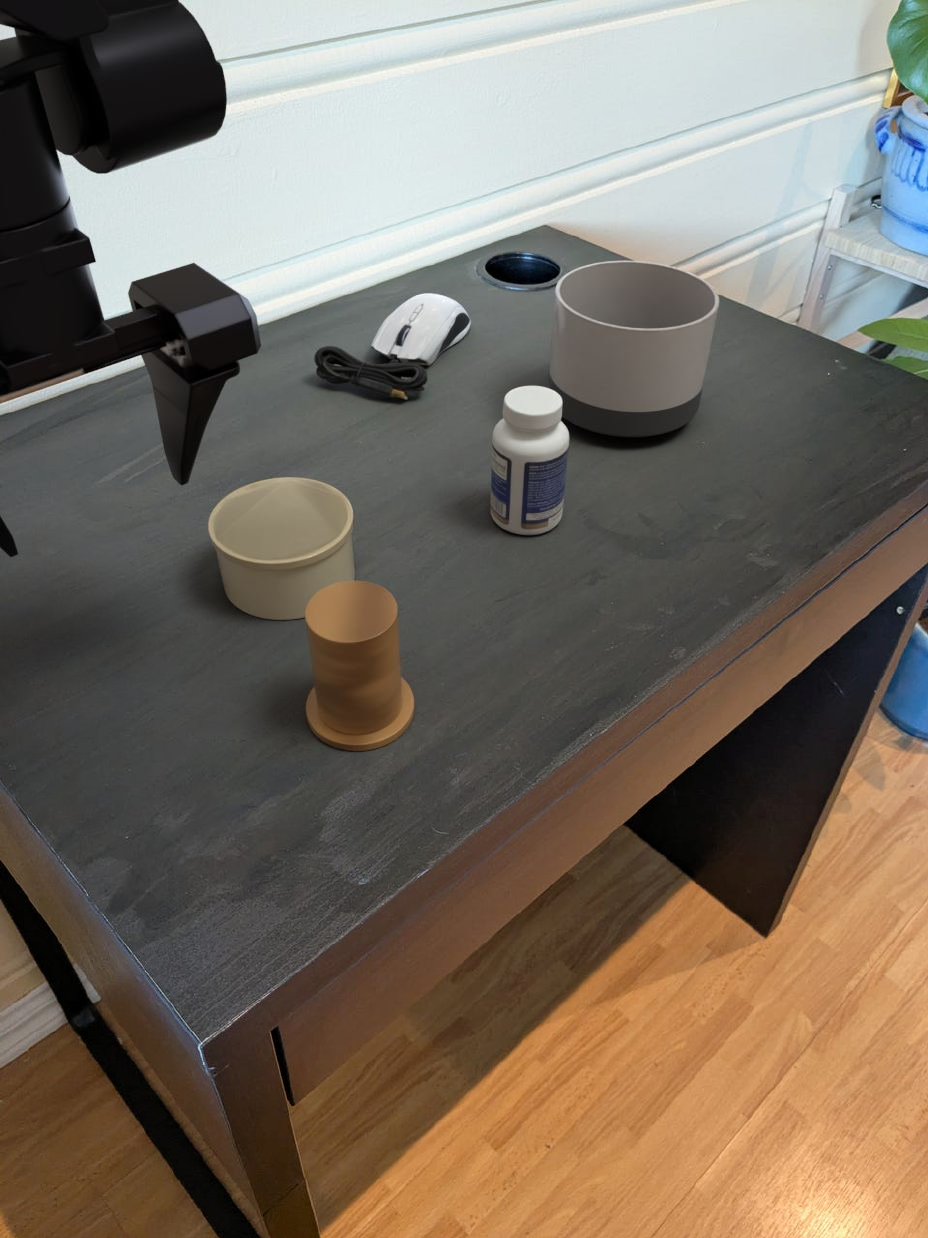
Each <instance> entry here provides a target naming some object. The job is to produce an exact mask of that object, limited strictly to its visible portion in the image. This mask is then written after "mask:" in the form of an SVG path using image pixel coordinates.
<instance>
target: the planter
mask: <svg viewBox="0 0 928 1238" xmlns="http://www.w3.org/2000/svg"><path fill="white" fill-rule="evenodd" d="M555 285H556V286H555V290H554V302H553V303H554V304H553V315H552V316H553V317H552V328H551V329H552V330H551V342H550V353H549V354H550V355H549V366H548V367H549V370H548V380H547V388H549V389H551V390H554V391H555V392H557V393H558V394H559V395H560V396H561V398H562V402H563V404H562V418H563V419H565V420H566V421H568V422H570V423H571V424H573V425H575V426H577V427H580V428H582V429H584V430H587V431H590V432H593V433H597V434H601V435H606V436H612V437H618V438H619V437H621V438H645V437H653V436H660V435H664V434H667V433H670V432H673V431H676V430H677V429H679V428H682V427H684V426H685V425H686V424H688V423H690V422H691V420H693V419H694V417H695V416H696V414H697V413H698V411H699V407H700V403H701V399H702V393H703V387H704V384H705V378H706V372H707V367H708V363H709V357H710V353H711V348H712V343H713V337H714V332H715V327H716V322H717V316H718V313H719V307H720V296H719V293H718V292H717V291H716V289H715V288H714V286H712V285H711V284H710V283H709V282H708V281H707V280H705V279H703V278H702V277H700V276H698V275H696V274H694V273H692V272H690V271H687V270H684V269H681V268H678V267H675V266H672V265H668V264H664V263H657V262H649V261H640V260H611V261H610V260H609V261H601V262H595V263H590V264H586V265H582V266H580V267H577V268H575V269H572V270H571V271H569V272H567V273H566V274H564V275H562V277H561V278H560V279H559V280H558V281H557V283H556V284H555Z"/></svg>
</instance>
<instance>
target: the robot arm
mask: <svg viewBox="0 0 928 1238" xmlns="http://www.w3.org/2000/svg"><path fill="white" fill-rule="evenodd" d="M0 25H1V26H4V27H9V28H13V29H14V34H15V36H12V37H7V38H3V39H0V405H2V404H3V403H6V402H10V401H12V400H15V399H18V398H21V397H25V396H26V395H30V394H33V393H36V392H39V391H41V390H44V389H48V388H50V387H53V386H56V385H58V384H61V383H65V382H68V381H71V380H73V379H77V378H80V377H82V376H84V375H87V374H90V373H93V372H96V371H99V370H103V369H104V368H108V367H110V366H114V365H116V364H119V363H122V362H125V361H128V360H131V359H133V358H136V357H139V356H140V357H141V358H142V362H143V364H144V366H145V368H146V371H147V373H148V375H149V378H150V382H151V385H152V392H153V397H154V403H155V407H156V413H157V420H158V424H159V429H160V435H161V441H162V446H163V451H164V454H165V458H166V462H167V464H168V467H169V470H170V473H171V477H172V478H173V479H174V480H175V481H176V482H177V484H179V485H180V486H184V485H187V484H189V482H190V479H191V477H192V476H191V475H192V473H193V469H194V466H195V464H196V463H195V461H196V459H197V456H198V453H199V450H200V446H201V443H202V440H203V437H204V434H205V431H206V429H207V425H208V424H209V421H210V419H211V416H212V414H213V411H214V409H215V407H216V405H217V403H218V400H219V398H220V396H221V393H222V391H223V390H224V387H225V384H226V383H227V381H229V380H230V379H233V378H235V377H237V376H239V374H240V372H241V364H240V360H243V359H247V358H248V357H251V356H254V355H257V354H258V353H259V351H260V350H261V347H262V342H261V336H260V330H259V323H258V316H257V314H256V312H255V310H254V308H253V306H252V304H251V302H250V300H249V299H248V298H247V297H246V296H244V295H242V294H241V292H240V293H239V291H238V290H235V288H232V287H231V286H229V285H228V284H227V283H225V282H223V281H222V280H221V279H219V278H218V277H216V276H215V275H213V273H211V272H209V271H207V269H205V268H203V267H201V266H200V265H199V264H197V263H195V262H191V263H189V264H185V265H182V266H179V267H176V268H171V269H169V270H166V271H163V272H159V273H156V274H152V275H149V276H146V277H142V278H140V279H136V280H133V281H131V283H130V285H129V289H128V292H127V295H128V300H129V302H130V307H131V310H132V311H129V312H125V313H123V314H119V315H117V316H114V317H110V318H107V319H105V317H104V314H103V313H104V312H103V310H102V305H101V303H100V299H99V295H98V291H97V288H96V285H95V281H94V278H93V274H92V270H91V267H90V265H91V264H94V263H96V262H97V260H96V256H95V253H94V250H93V246H92V242H91V239H90V237H89V236H88V235H87V234H86V233H84V232H82V231H81V230H80V227H79V224H78V220H77V217H76V214H75V210H74V206H73V203H72V199H71V196H70V194H69V193H70V192H69V190H68V186H67V183H66V179H65V176H64V172H63V169H62V164H61V161H60V158H59V154H58V152H59V153H61V154H62V155H64V156H71V157H73V159H74V160H75V161H76V162H77V163H79V164H80V165H81V166H82V167H84V169H87V170H88V171H90V172H92V173H95V174H97V175H99V174H100V175H101V174H105V175H106V174H109V173H113V172H115V171H118V170H122V169H125V168H127V167H130V166H133V165H136V164H139V163H142V162H145V161H148V160H151V159H154V158H156V157H161V156H163V155H166V154H169V153H172V152H175V151H177V150H180V149H184V148H186V147H191V146H192V145H196V144H199V143H202V142H204V141H208V140H210V139H211V138H213V137H215V136H216V135H217V134H218V133H219V131H221V129H222V127H223V125H224V122H225V119H226V118H225V117H226V115H227V114H226V113H227V103H228V96H227V83H226V78H225V73H224V72H225V71H224V68H223V66H222V64H221V62H219V61H218V60H217V58H216V56H215V53H214V50H213V48H212V45H211V44H210V41H209V39H208V37H207V35H206V33H205V31H204V30H203V27H202V26H201V25H200V23H199V22H198V20H197V19H196V17H195V16H194V14H192V13H191V11H190V10H189V9H188V8H186V6H185V5H184V4H183V3H182V2H180V0H0ZM0 549H1V550H2V552H4V553H6V555H7V556H8V557H9V558H13V557H16V556H19V551H18V548H17V546H16V541H15V539H14V536H13V535H12V532H11V531H10V529H9V527H8V526H7V524H6V523H5V521H4V519H3V518H2V516H1V515H0Z"/></svg>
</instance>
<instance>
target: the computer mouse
mask: <svg viewBox="0 0 928 1238" xmlns="http://www.w3.org/2000/svg"><path fill="white" fill-rule="evenodd" d="M471 325H472V320H471V317H470V316H469V314H468V312H467V310H466V309H465V308H464V307H463V305H461V304H460V303H459V302H458V301H457V300H455V299H453V298H451V297H449V296H446V295H442V294H438V293H431V292H430V293H429V292H427V293H420V294H417V295H414V296H411V298H409V299H407V300H406V301H404V302H403V303H402V304H400V305H399V306H398V307H397V308H396V309H395V310H393V311H392V312H391V313H390V314H389V315H388V316H387V317H386V318H385V319H384V320H383V322H382V324H381V325H380V327H379V328H378V330H377V332H376V333H375V335H374V338H373V340H372V342H371V344H370V348H371V349H372V350H374V351H375V352H376V353H379V354H381V355H382V356H385V357H387V358H388V359H390V361H389V363H380V364H379V363H376V364H374V363H368V362H367V361H365V360H364V361H362V360H360V359H358V358H357V357H355V356H353V355H352V354H350V353H349V352H347V351H346V350H344V349H342V348H340V347H339V346H334V345H326V346H323V347H320V348H319V349H317V350H316V352H314V353H315V354H314V358H313V360H314V363H315V365H316V369H315V370H316V371H315V373H316V375H317V377H319V378H321V379H322V380H325V381H327V382H328V383H329V384H333V385H340V384H347V383H349V384H350V385H351V386H353V385H354V386H355V387H358V388H361V389H364V390H366V391H367V390H368V391H370V392H373V393H375V394H379V395H383V396H386V397H389V398H392V399H394V398H399V399H402V400H404V401H408V398H409V394H408V392H406V391H414V392H415V391H416V392H423V391H424V390H425V387H424V386H425V385H426V384H427V382H428V380H429V379H428V371H427V370H426V369H425V368H424V367H423V366H430V365H432V364H433V363H434V362H435V361H436V359H437V358H438V357H439V356H440V355H441V354H442V353H443V352H444V351H446V350H447V349H448V348H450V347H452V346H454V345H455V344H457V343H459V342H460V341H461V340H462V339H463V338H464V337H465V336H466V335H467V333H468V331H469V329H470V328H471ZM406 378H407V379H406Z"/></svg>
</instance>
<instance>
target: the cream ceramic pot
mask: <svg viewBox="0 0 928 1238" xmlns="http://www.w3.org/2000/svg"><path fill="white" fill-rule="evenodd" d="M354 517H355V516H354V509H353V507H352V504H351V502H350V501H349V499H348V498H347V496H346V495H345V494H343V493H342V491H340V490H339V489H337V488H336V487H334V486H332V485H330V484H329V483H328V484H327V483H325V482H323V481H319V480H315V479H312V478H311V479H310V478H307V477H293V476H292V477H291V476H287V477H273V478H268V479H263V480H259V481H256V482H252V483H249V484H246V485H244V486H241V487H239V488H237V489H235V490H233V491H232V492H230V493H229V494H228V495H226V496H225V497H223V498H222V499H221V500H220V501H219V502H217V504H216V506H215V507H214V508H213V510H212V511H211V513H210V516H209V518H208V523H207V530H208V535H209V540H210V542H211V544H212V546H213V548H214V550H215V553H216V558H217V562H218V567H219V573H220V577H221V581H222V586H223V589H224V593H225V595H226V597H227V599H228V600H229V601H230V603H231V604H233V605H234V606H235V607H236V608H237V609H239V610H241V611H242V612H244V613H246V614H248V615H250V616H252V617H253V616H254V617H256V618H260V619H265V620H272V621H289V620H298V619H305V609H306V606H307V604H308V602H309V600H310V599H311V598H312V597H313V596H314V595H315V594H316V593H317V592H318V591H320V590H322V589H323V588H325V587H327V586H330V585H332V584H335V583H339V582H344V581H355V578H356V564H355V554H354V553H355V552H354V542H353V529H354V524H355V521H354V520H355V519H354Z"/></svg>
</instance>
